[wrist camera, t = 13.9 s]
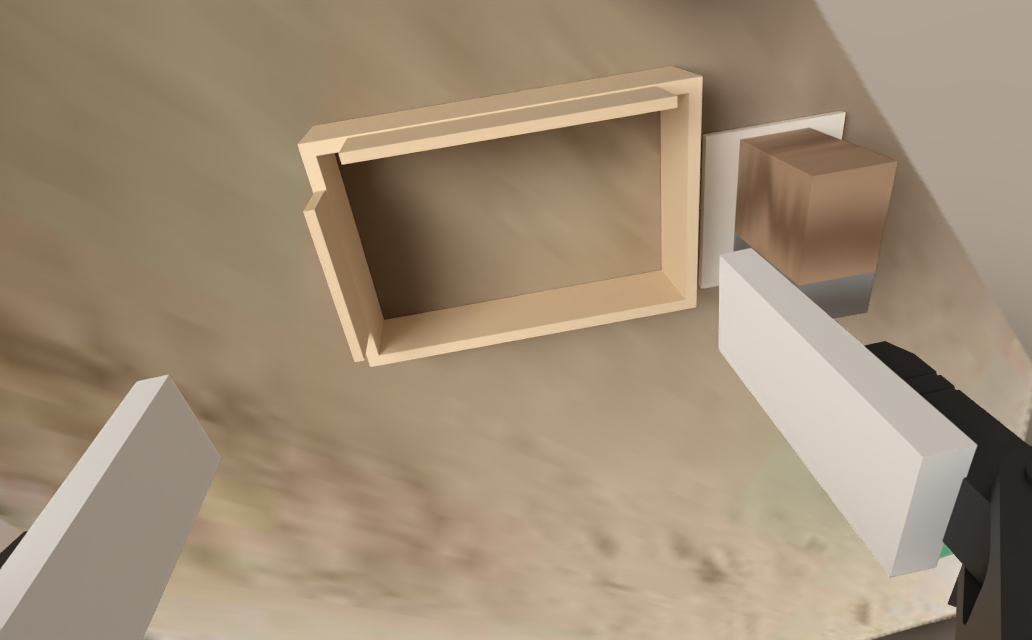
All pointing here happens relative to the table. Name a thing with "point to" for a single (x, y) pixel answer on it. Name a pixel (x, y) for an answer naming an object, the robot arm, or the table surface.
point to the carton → (491, 120)
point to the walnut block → (815, 213)
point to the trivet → (723, 179)
